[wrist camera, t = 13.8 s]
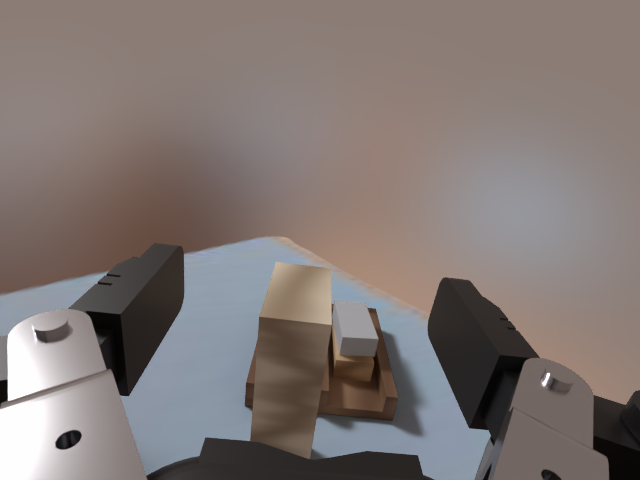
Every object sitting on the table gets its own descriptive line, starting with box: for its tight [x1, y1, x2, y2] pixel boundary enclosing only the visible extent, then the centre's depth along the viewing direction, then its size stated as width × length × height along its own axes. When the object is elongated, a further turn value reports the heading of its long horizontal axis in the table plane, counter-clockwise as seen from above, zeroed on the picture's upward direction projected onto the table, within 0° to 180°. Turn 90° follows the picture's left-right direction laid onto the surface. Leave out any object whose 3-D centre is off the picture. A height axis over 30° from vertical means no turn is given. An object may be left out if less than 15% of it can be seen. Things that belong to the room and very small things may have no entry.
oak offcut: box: [331, 324, 374, 382], centre depth 43 cm, size 4×8×2 cm, turn 0°
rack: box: [245, 304, 398, 420], centre depth 43 cm, size 15×16×3 cm
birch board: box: [250, 262, 332, 459], centre depth 26 cm, size 4×7×18 cm, turn 179°
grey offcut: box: [332, 301, 378, 357], centre depth 43 cm, size 4×7×2 cm, turn 5°
